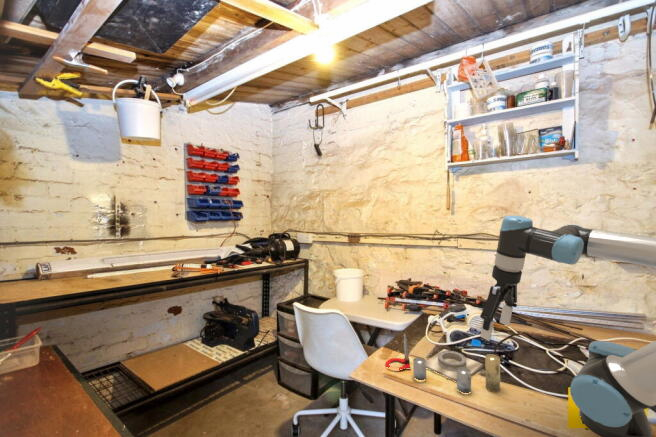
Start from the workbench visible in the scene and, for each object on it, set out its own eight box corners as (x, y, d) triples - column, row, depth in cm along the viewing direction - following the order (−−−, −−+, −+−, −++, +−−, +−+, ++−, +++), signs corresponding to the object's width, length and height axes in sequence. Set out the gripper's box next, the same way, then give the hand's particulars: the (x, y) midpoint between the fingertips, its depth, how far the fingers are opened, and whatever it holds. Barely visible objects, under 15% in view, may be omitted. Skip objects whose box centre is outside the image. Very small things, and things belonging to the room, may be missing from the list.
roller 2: (473, 390, 109) (473, 370, 108) (467, 396, 106) (466, 376, 105) (461, 384, 112) (460, 365, 111) (454, 390, 109) (454, 370, 109)
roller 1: (428, 378, 116) (428, 360, 116) (421, 384, 113) (421, 365, 113) (418, 373, 120) (417, 356, 119) (411, 378, 117) (410, 360, 116)
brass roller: (502, 388, 109) (502, 357, 108) (496, 393, 106) (496, 362, 105) (489, 382, 112) (488, 352, 111) (483, 387, 110) (483, 357, 108)
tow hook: (387, 373, 122) (411, 371, 121) (384, 341, 121) (409, 339, 120) (384, 361, 130) (407, 359, 130) (381, 331, 129) (404, 329, 128)
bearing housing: (482, 366, 122) (482, 357, 121) (461, 385, 112) (461, 375, 111) (444, 351, 134) (444, 343, 134) (421, 366, 124) (421, 357, 124)
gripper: (511, 256, 106) (500, 313, 111) (475, 272, 90) (463, 338, 95) (537, 263, 100) (523, 323, 105) (503, 281, 85) (489, 351, 90)
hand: (495, 331), depth 100 cm, fingers open, 13 cm apart
